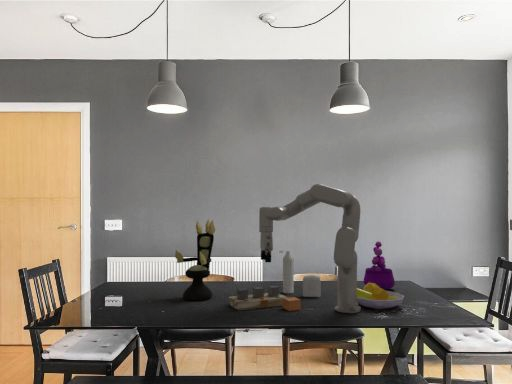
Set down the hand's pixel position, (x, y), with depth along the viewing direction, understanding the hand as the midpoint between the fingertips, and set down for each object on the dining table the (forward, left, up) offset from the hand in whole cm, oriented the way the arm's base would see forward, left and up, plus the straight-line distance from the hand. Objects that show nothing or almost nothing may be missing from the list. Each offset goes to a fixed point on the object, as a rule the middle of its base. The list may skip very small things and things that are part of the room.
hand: (265, 260), depth 219 cm
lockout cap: (-18, -6, -22) cm, 29 cm away
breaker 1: (-3, +15, -19) cm, 24 cm away
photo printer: (+2, -30, -23) cm, 38 cm away
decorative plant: (+2, -79, -23) cm, 82 cm away
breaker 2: (-3, +6, -19) cm, 20 cm away
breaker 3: (-3, -3, -19) cm, 20 cm away
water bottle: (+18, -22, -23) cm, 36 cm away
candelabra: (+27, +30, -23) cm, 46 cm away
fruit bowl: (-30, -49, -23) cm, 62 cm away
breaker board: (-3, +6, -22) cm, 23 cm away
